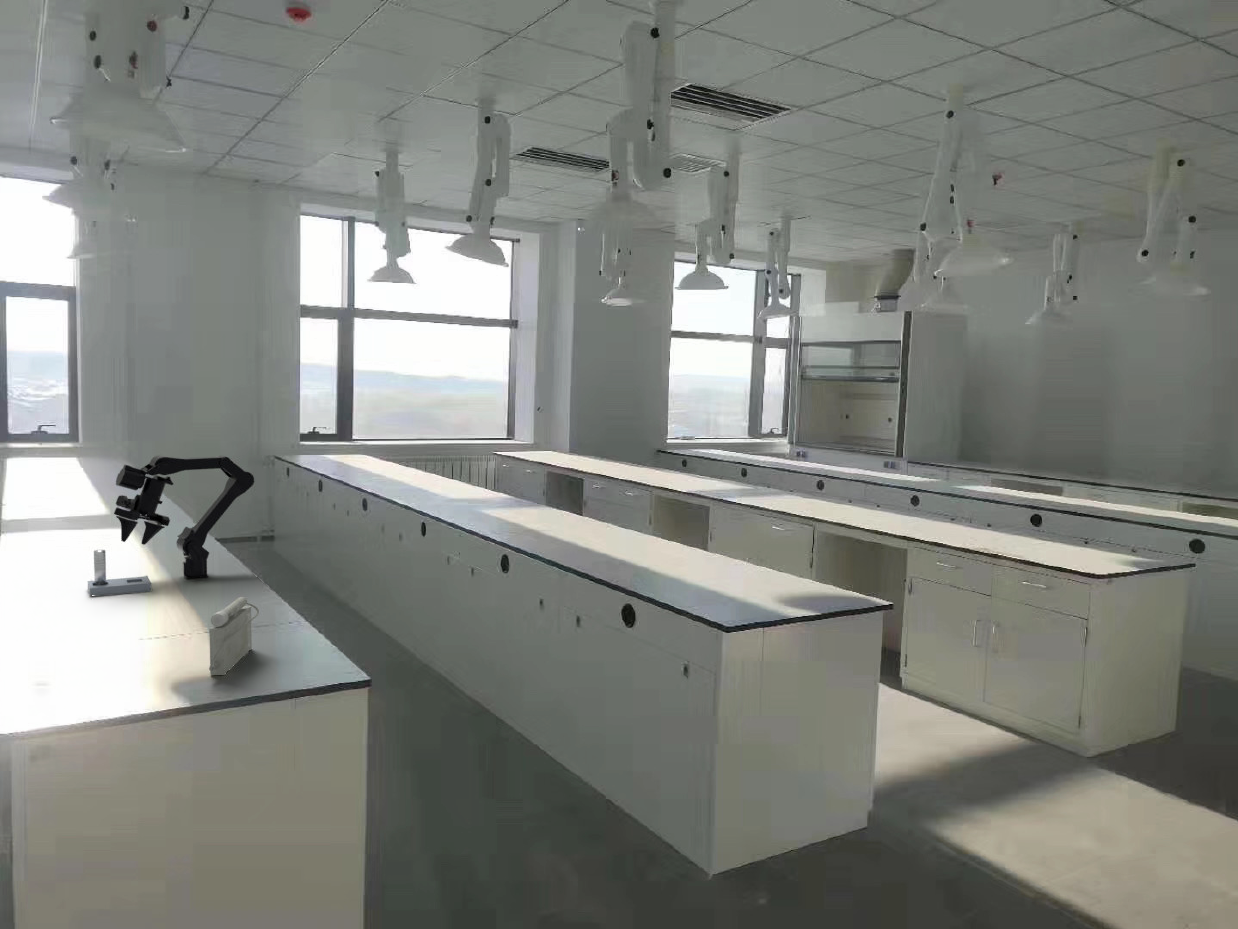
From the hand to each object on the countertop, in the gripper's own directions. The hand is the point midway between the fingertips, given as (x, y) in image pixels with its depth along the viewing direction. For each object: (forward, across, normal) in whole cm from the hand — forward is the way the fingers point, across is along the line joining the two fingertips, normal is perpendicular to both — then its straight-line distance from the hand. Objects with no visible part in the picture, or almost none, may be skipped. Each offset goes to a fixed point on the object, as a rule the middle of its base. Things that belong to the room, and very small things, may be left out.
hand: (133, 543), depth 280 cm
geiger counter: (+14, +56, +77) cm, 96 cm away
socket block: (+14, +5, +5) cm, 15 cm away
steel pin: (+16, +8, +1) cm, 17 cm away
